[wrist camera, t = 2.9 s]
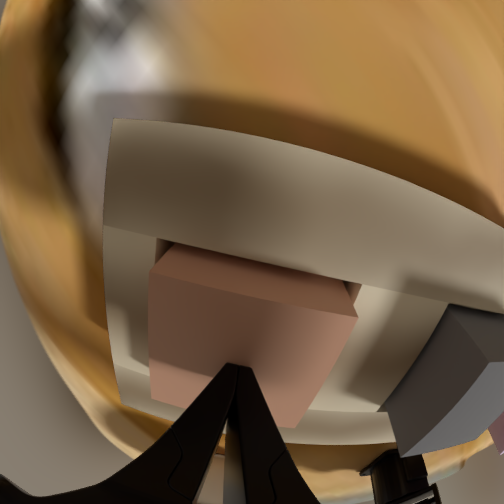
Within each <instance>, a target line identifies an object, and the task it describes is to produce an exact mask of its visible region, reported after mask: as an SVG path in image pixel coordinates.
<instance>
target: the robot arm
mask: <svg viewBox="0 0 504 504" xmlns="http://www.w3.org/2000/svg"><path fill="white" fill-rule="evenodd" d="M226 421H227V423H226ZM225 424H226V437H225V459H224V483H223V504H320V502H319V501H318V500H317V498H316V497H315V495H314V494H313V493H312V491H311V490H310V488H309V487H308V485H307V484H306V482H305V481H304V479H303V478H302V476H301V474H300V473H299V471H298V469H297V467H296V465H295V464H294V462H293V460H292V458H291V455H290V453H289V451H288V450H286V449H287V447H286V445H285V443H284V441H283V438H282V436H281V434H280V432H279V430H278V427H277V425H276V423H275V421H274V418H273V416H272V414H271V412H270V409H269V407H268V405H267V402H266V400H265V398H264V395H263V393H262V391H261V388H260V386H259V384H258V381H257V379H256V376H255V374H254V372H253V369H252V368H251V367H248V366H243V365H240V366H238V365H237V364H233V363H228V362H227V363H225V365H224V366H223V367H222V368H221V369H220V371H219V372H218V373H217V374H216V375H215V376H214V378H213V379H212V380H211V381H210V382H209V384H208V385H207V386H206V387H205V388H204V389H203V390H202V392H201V393H200V394H199V395H198V396H197V397H196V399H195V400H194V401H193V402H192V403H191V404H190V405H189V407H188V408H187V409H186V410H185V411H184V412H183V413H182V414H181V416H180V417H179V418H178V419H177V420H176V421H175V422H174V423H173V424H172V425H171V427H170V428H169V429H168V430H167V431H166V432H165V433H164V434H163V435H162V436H161V437H160V438H159V439H158V440H157V441H156V442H155V443H154V444H153V445H152V446H151V447H150V448H148V449H147V450H146V451H145V452H144V453H142V454H141V455H140V456H139V457H137V458H136V459H135V460H133V461H132V462H130V463H129V464H128V465H126V466H125V467H124V468H122V469H121V470H119V471H118V472H116V473H115V474H114V475H112V476H111V477H109V478H107V479H106V480H104V481H102V482H100V483H98V484H96V485H92V486H89V487H85V488H81V489H78V490H73V491H70V492H65V493H60V494H55V495H51V496H43V497H37V496H32V495H31V494H29V493H28V492H26V491H25V490H23V489H22V488H20V487H19V486H17V485H16V484H14V483H13V482H12V481H10V480H9V479H8V478H6V477H5V476H3V475H2V474H0V504H196V503H197V500H198V498H199V495H200V493H201V490H202V488H203V485H204V482H205V480H206V477H207V474H208V472H209V469H210V466H211V464H212V461H213V458H214V456H215V453H216V450H217V447H218V445H219V442H220V439H221V436H222V433H223V431H224V428H225ZM359 474H360V476H368V475H370V476H371V482H372V488H373V494H374V501H375V504H412V503H415V502H417V501H419V500H422V499H424V498H426V497H429V496H431V495H433V494H434V497H433V498H430V499H428V498H427V499H425V500H423V501H420V502H418V503H415V504H442V502H441V498H440V494H439V490H438V487H437V485H436V483H434V484H432V485H431V486H429V484H428V480H427V476H428V473H427V470H426V466H425V463H424V460H423V457H422V454H418V455H413V456H407V457H401V458H400V454H399V451H398V450H391V451H387V452H385V453H384V454H382V455H381V456H380V457H379V458H378V459H376V460H375V461H374V462H373V463H372V464H370V465H369V466H368V467H366V468H365V469H364V470H363V471H361V472H360V473H359Z"/></svg>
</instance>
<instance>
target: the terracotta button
mask: <svg viewBox="0 0 504 504" xmlns="http://www.w3.org/2000/svg"><path fill="white" fill-rule="evenodd" d="M358 318H359V317H358V315H357V313H356V310H355V308H354V306H353V303H352V301H351V299H350V297H349V294H348V292H347V290H346V288H345V286H344V284H343V281H342V280H341V279H336V278H332V277H327V276H323V275H318V274H314V273H309V272H305V271H300V270H296V269H291V268H287V267H282V266H278V265H274V264H269V263H265V262H260V261H256V260H251V259H247V258H243V257H238V256H234V255H230V254H225V253H221V252H216V251H212V250H208V249H203V248H199V247H195V246H190V245H186V244H182V243H178V242H175V244H174V245H173V246H172V247H171V248H170V249H169V250H168V251H167V252H166V253H165V254H164V255H163V257H162V258H161V259H160V260H159V261H158V262H157V263H156V264H155V265H154V266H153V268H152V269H151V270H150V271H149V284H148V351H149V373H150V388H151V399H154V400H157V401H161V402H164V403H167V404H170V405H174V406H177V407H181V408H185V409H187V408H188V407H189V405H190V404H191V403H192V402H193V401H194V400H195V399H196V397H197V396H198V395H199V394H200V393H201V392H202V390H203V389H204V388H205V387H206V386H207V385H208V384H209V382H210V381H211V380H212V379H213V378H214V376H215V375H216V374H217V373H218V372H219V371H220V369H221V368H222V367H223V366H224V365H225V363H227V362H228V363H233V364H237V365H238V366H240V365H243V366H248V367H251V368H252V369H253V372H254V374H255V376H256V379H257V381H258V384H259V386H260V388H261V391H262V393H263V395H264V398H265V400H266V402H267V405H268V407H269V409H270V412H271V414H272V416H273V418H274V421H275V423H276V425H277V427H286V428H295V427H296V426H297V424H298V423H299V421H300V420H301V418H302V417H303V415H304V414H305V412H306V411H307V409H308V408H309V406H310V405H311V403H312V402H313V400H314V398H315V397H316V395H317V393H318V392H319V390H320V389H321V387H322V385H323V384H324V382H325V380H326V378H327V377H328V375H329V373H330V371H331V370H332V368H333V366H334V364H335V363H336V361H337V359H338V357H339V355H340V353H341V352H342V350H343V348H344V346H345V344H346V342H347V340H348V338H349V336H350V334H351V332H352V330H353V328H354V326H355V324H356V322H357V320H358Z"/></svg>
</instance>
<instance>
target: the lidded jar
mask: <svg viewBox="0 0 504 504" xmlns="http://www.w3.org/2000/svg"><path fill="white" fill-rule="evenodd" d="M224 459H225V455H221V454H215V456H214V458H213V461H212V464H211V466H210V469H209V472H208V474H207V477H206V480H205V482H204V485H203V488H202V490H201V493H200V495H199V498H198V500H197V503H196V504H223V483H224Z"/></svg>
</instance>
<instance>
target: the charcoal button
mask: <svg viewBox="0 0 504 504" xmlns="http://www.w3.org/2000/svg"><path fill="white" fill-rule="evenodd" d="M384 404H385V407H386V410H387V413H388V416H389V419H390V423H391V426H392V429H393V433H394V436H395V440H396V443H397V447H398V451H399V454H400V458H401V457H407V456H413V455H418V454H423V453H428V452H433V451H437V450H441V449H445V448H449V447H452V446H456V445H460V444H463V443H466V442H469V441H472V440H475V439H477V438H478V437H479V436H480V435H481V434H482V433H483V432H484V431H485V430H486V429H487V428H488V427H489V426H490V425H491V424H492V423H493V422H494V421H495V420H496V419H497V418H498V417H499V416H500V415H501V414H502V413H503V411H504V315H502V314H497V313H492V312H487V311H482V310H477V309H472V308H467V307H462V306H457V305H452V304H448V306H447V308H446V309H445V311H444V313H443V315H442V317H441V319H440V320H439V322H438V324H437V326H436V328H435V329H434V331H433V333H432V334H431V336H430V338H429V339H428V341H427V343H426V344H425V346H424V347H423V349H422V350H421V352H420V354H419V355H418V357H417V358H416V360H415V361H414V363H413V364H412V366H411V367H410V368H409V370H408V371H407V373H406V374H405V375H404V377H403V378H402V380H401V381H400V382H399V384H398V385H397V386H396V388H395V389H394V390H393V392H392V393H391V394H390V395H389V397H388V398H387V399H386V400H385V402H384Z"/></svg>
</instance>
